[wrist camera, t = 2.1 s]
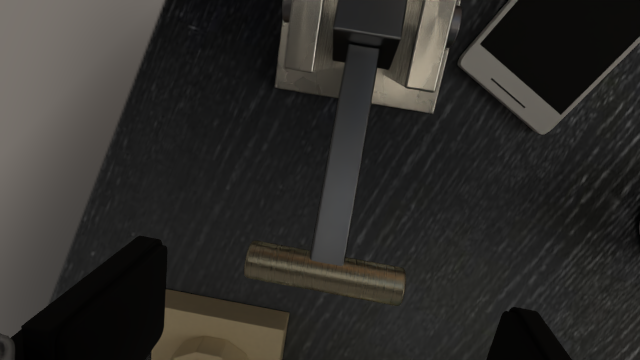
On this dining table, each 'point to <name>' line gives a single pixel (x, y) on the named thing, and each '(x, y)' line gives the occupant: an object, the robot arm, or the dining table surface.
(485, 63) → the smartphone
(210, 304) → the control block
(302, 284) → the switch lever
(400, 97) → the metal stand
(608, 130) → the dining table surface
